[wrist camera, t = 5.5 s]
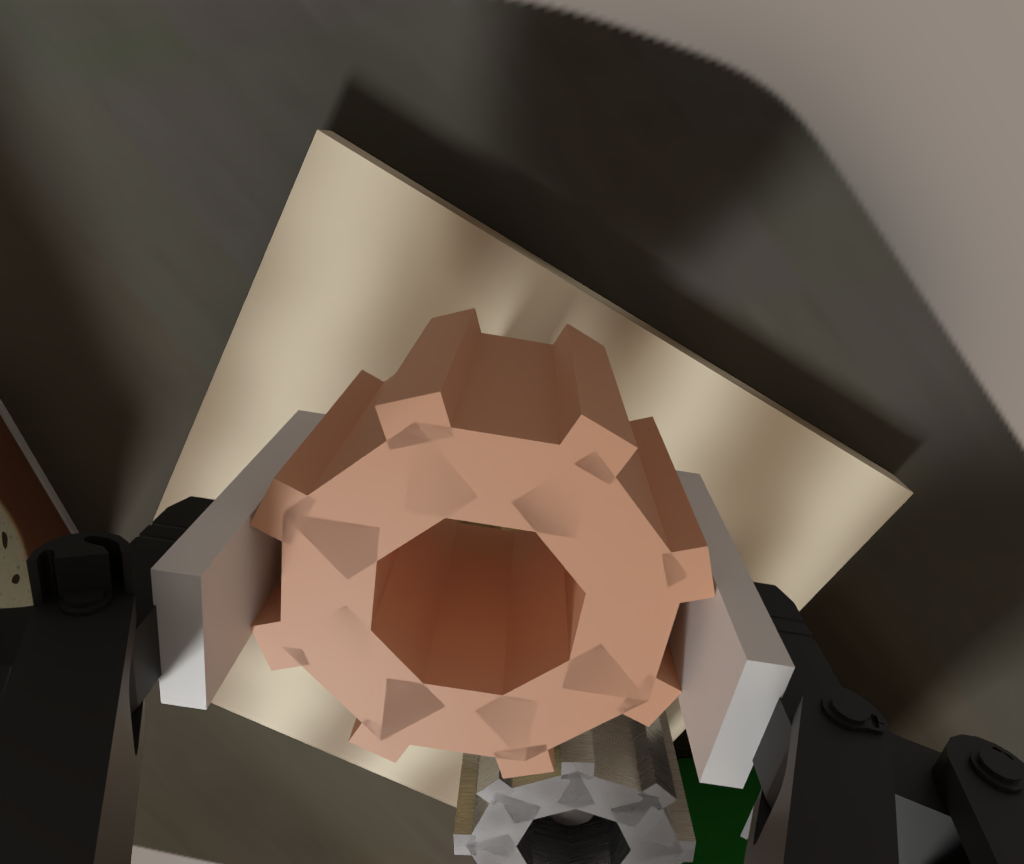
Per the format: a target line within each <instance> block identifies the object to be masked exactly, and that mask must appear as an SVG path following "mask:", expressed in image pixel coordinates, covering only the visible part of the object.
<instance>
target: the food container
mask: <svg viewBox="0 0 1024 864" xmlns="http://www.w3.org/2000/svg"><path fill="white" fill-rule="evenodd" d="M75 533H79V532H78V530H77V528H76V526H75V525H74V523H73V521H72V520H71V518H70V516H69V515H68V513H67V511H66V509H65V508H64V506H63V504H62V503H61V501H60V499H59V498H58V496H57V494H56V492H55V491H54V489H53V487H52V486H51V484H50V482H49V481H48V479H47V477H46V475H45V474H44V472H43V470H42V469H41V467H40V465H39V464H38V462H37V460H36V458H35V457H34V455H33V453H32V452H31V450H30V448H29V447H28V445H27V443H26V441H25V440H24V438H23V436H22V435H21V433H20V431H19V430H18V428H17V426H16V424H15V423H14V421H13V419H12V418H11V416H10V414H9V413H8V411H7V409H6V407H5V406H4V404H3V402H2V401H1V399H0V608H14V607H26V606H33V599H32V593H31V587H30V581H29V575H28V569H27V563H26V560H27V559H28V557H29V556H30V555H31V553H32V552H33V551H34V550H35V549H37V548H38V547H40V546H42V545H43V544H45V543H46V542H48V541H51V540H53V539H56V538H59V537H62V536H65V535H68V534H75Z"/></svg>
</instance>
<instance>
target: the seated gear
mask: <svg viewBox="0 0 1024 864" xmlns="http://www.w3.org/2000/svg"><path fill="white" fill-rule="evenodd" d="M573 809H578V810H581V811H584V812H587V813H590V814H593V817H592V818H591V819H590V820H589V821H587V822H585V823H583V824H580V825H572V826H570V825H563V824H560V823H558V822H556V821H554V820H553V819H552V818H551V817H550V815H553V814H557V813H561V812H565V811H569V810H573ZM453 835H454V853H455V855H472V856H473V858H474V859H475V861H476V862H477V864H673V863H674V862H693V857H694V851H695V845H696V839H695V835H694V831H693V827H692V822H691V818H690V814H689V809H688V805H687V801H686V796H685V792H684V788H683V783H682V779H681V775H680V771H679V766H678V762H677V758H676V753H675V749H674V745H673V740H672V736H671V732H670V727H669V723H668V719H667V715H666V710H664V712H663V713H662V714H661V715H660V716H659V717H658V718H657V719H656V720H655V721H654V722H653V723H652V724H651V725H650V726H649V727H648V726H646V725H644V724H642V723H640V722H638V721H636V720H634V719H632V718H630V717H628V716H626V715H624V714H621V715H619V716H617V717H615V718H613V719H611V720H609V721H606V722H604V723H602V724H600V725H598V726H596V727H594V728H592V729H590V730H588V731H586V732H584V733H582V734H580V735H578V736H576V737H574V738H572V739H569V740H567V741H565V742H563V743H561V744H559V745H557V746H555V747H554V772H549V773H541V774H534V775H527V776H519V777H512V778H505V779H503V778H502V775H501V772H500V769H499V766H498V763H497V760H496V757H489V756H482V755H476V754H469V753H463V759H462V767H461V775H460V784H459V792H458V800H457V809H456V817H455V826H454V834H453Z"/></svg>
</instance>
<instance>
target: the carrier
mask: <svg viewBox="0 0 1024 864" xmlns="http://www.w3.org/2000/svg"><path fill="white" fill-rule="evenodd" d="M472 308H475V310H476V314H477V318H478V322H479V325H480V329H481V333H486V334H492V335H498V336H504V337H510V338H517V339H523V340H529V341H535V342H541V343H547V344H554V342H555V341H556V339H557V338H558V336H559V335H560V333H561V332H562V330H563V329H564V327H565V325H566V324H567V323H568V324H569V325H571V326H573V327H574V328H576V329H577V330H579V331H581V332H582V333H584V334H585V335H587V336H589V337H590V338H592V339H593V340H595V341H597V342H598V343H600V344H601V345H603V346H604V347H605V350H606V353H607V356H608V359H609V362H610V365H611V368H612V371H613V374H614V377H615V380H616V383H617V386H618V389H619V392H620V395H621V398H622V401H623V404H624V407H625V410H626V413H627V416H628V419H629V421H632V420H637V419H642V418H647V417H652V416H653V418H654V420H655V423H656V425H657V428H658V430H659V432H660V435H661V437H662V439H663V442H664V444H665V446H666V449H667V451H668V453H669V456H670V458H671V460H672V463H673V465H674V468H675V470H678V471H684V472H690V473H697V474H700V476H701V478H702V480H703V482H704V484H705V486H706V488H707V490H708V492H709V494H710V496H711V498H712V500H713V502H714V504H715V506H716V508H717V510H718V512H719V514H720V516H721V518H722V520H723V522H724V524H725V526H726V528H727V530H728V532H729V534H730V536H731V538H732V540H733V542H734V544H735V547H736V549H737V551H738V553H739V555H740V557H741V559H742V561H743V563H744V565H745V567H746V569H747V571H748V573H749V575H750V577H751V579H752V581H753V582H758V583H764V584H771V585H776V586H777V587H778V588H779V589H780V590H781V591H782V592H783V593H784V594H785V595H787V596H788V597H789V598H790V599H791V600H792V601H793V602H794V603H795V605H796V607H797V609H798V610H799V611H800V610H801V609H802V608H803V607H804V606H805V605H806V604H807V603H808V602H809V601H810V600H811V599H812V598H813V597H814V596H815V595H816V594H817V593H818V591H819V590H820V589H821V588H822V587H823V586H824V585H825V584H826V583H827V582H828V581H829V580H830V579H831V578H832V577H833V576H834V575H835V574H836V573H837V572H838V571H839V570H840V569H841V568H842V567H843V566H844V565H845V564H846V563H847V562H848V560H849V559H850V558H851V557H852V556H853V555H854V554H855V553H856V552H857V551H858V550H859V549H860V548H861V547H862V546H863V545H864V544H865V543H866V542H867V541H868V540H869V539H870V538H871V537H872V536H873V535H874V534H875V533H876V532H877V531H878V530H879V528H880V527H881V526H882V525H883V524H884V523H885V522H886V521H887V520H888V519H889V518H890V517H891V516H892V515H893V514H894V513H895V512H896V511H897V510H898V509H899V508H900V507H901V506H902V505H903V504H904V503H905V502H906V501H907V500H908V499H909V497H910V496H911V495H912V494H913V492H912V491H911V490H910V489H909V488H907V487H906V486H905V485H904V484H903V483H902V482H901V481H900V480H899V479H897V478H896V477H895V476H894V475H893V474H891V473H890V472H888V471H887V470H885V469H883V468H882V467H880V466H878V465H877V464H875V463H873V462H872V461H870V460H869V459H867V458H865V457H864V456H862V455H860V454H859V453H857V452H855V451H854V450H852V449H851V448H849V447H847V446H846V445H844V444H842V443H841V442H839V441H838V440H836V439H834V438H833V437H831V436H829V435H828V434H826V433H824V432H823V431H821V430H820V429H818V428H816V427H815V426H813V425H811V424H810V423H808V422H806V421H805V420H803V419H802V418H800V417H798V416H797V415H795V414H793V413H792V412H790V411H789V410H787V409H785V408H784V407H782V406H780V405H779V404H777V403H775V402H774V401H772V400H771V399H769V398H767V397H766V396H764V395H762V394H761V393H759V392H757V391H756V390H754V389H753V388H751V387H749V386H748V385H746V384H744V383H743V382H741V381H739V380H738V379H736V378H735V377H733V376H731V375H730V374H728V373H726V372H725V371H723V370H722V369H720V368H718V367H717V366H715V365H713V364H712V363H710V362H708V361H707V360H705V359H704V358H702V357H700V356H699V355H697V354H695V353H694V352H692V351H690V350H689V349H687V348H686V347H684V346H682V345H681V344H679V343H677V342H676V341H674V340H672V339H671V338H669V337H668V336H666V335H664V334H663V333H661V332H659V331H658V330H656V329H655V328H653V327H651V326H650V325H648V324H646V323H645V322H643V321H641V320H640V319H638V318H637V317H635V316H633V315H632V314H630V313H628V312H627V311H625V310H623V309H622V308H620V307H619V306H617V305H615V304H614V303H612V302H610V301H609V300H607V299H605V298H604V297H602V296H601V295H599V294H597V293H596V292H594V291H592V290H591V289H589V288H588V287H586V286H584V285H583V284H581V283H579V282H578V281H576V280H574V279H573V278H571V277H570V276H568V275H566V274H565V273H563V272H561V271H560V270H558V269H556V268H555V267H553V266H552V265H550V264H548V263H547V262H545V261H543V260H542V259H540V258H539V257H537V256H535V255H534V254H532V253H530V252H529V251H527V250H525V249H524V248H522V247H521V246H519V245H517V244H516V243H514V242H512V241H511V240H509V239H507V238H506V237H504V236H503V235H501V234H499V233H498V232H496V231H494V230H493V229H491V228H489V227H488V226H486V225H485V224H483V223H481V222H480V221H478V220H476V219H475V218H473V217H472V216H470V215H468V214H467V213H465V212H463V211H462V210H460V209H458V208H457V207H455V206H454V205H452V204H450V203H449V202H447V201H445V200H444V199H442V198H440V197H439V196H437V195H436V194H434V193H432V192H431V191H429V190H427V189H426V188H424V187H422V186H421V185H419V184H418V183H416V182H414V181H413V180H411V179H409V178H408V177H406V176H405V175H403V174H401V173H400V172H398V171H396V170H395V169H393V168H391V167H390V166H388V165H387V164H385V163H383V162H382V161H380V160H378V159H377V158H375V157H373V156H372V155H370V154H369V153H367V152H365V151H364V150H362V149H360V148H359V147H357V146H355V145H354V144H352V143H351V142H349V141H347V140H346V139H344V138H342V137H341V136H339V135H338V134H336V133H334V132H333V131H328V130H317V131H316V134H315V136H314V139H313V141H312V143H311V146H310V148H309V150H308V153H307V155H306V158H305V160H304V162H303V165H302V167H301V169H300V172H299V174H298V177H297V179H296V181H295V184H294V186H293V189H292V191H291V193H290V196H289V198H288V200H287V203H286V205H285V208H284V210H283V212H282V215H281V217H280V219H279V222H278V224H277V227H276V229H275V231H274V234H273V236H272V239H271V241H270V243H269V246H268V248H267V250H266V253H265V255H264V258H263V260H262V262H261V265H260V267H259V269H258V272H257V274H256V277H255V279H254V281H253V284H252V286H251V289H250V291H249V293H248V296H247V298H246V300H245V303H244V305H243V308H242V310H241V312H240V315H239V317H238V319H237V322H236V324H235V327H234V329H233V331H232V334H231V336H230V338H229V341H228V343H227V346H226V348H225V350H224V353H223V355H222V358H221V360H220V362H219V365H218V367H217V369H216V372H215V374H214V377H213V379H212V381H211V384H210V386H209V388H208V391H207V393H206V396H205V398H204V400H203V403H202V405H201V408H200V410H199V412H198V415H197V417H196V419H195V422H194V424H193V427H192V429H191V431H190V434H189V436H188V438H187V441H186V443H185V446H184V448H183V450H182V453H181V455H180V457H179V460H178V462H177V465H176V467H175V469H174V472H173V474H172V477H171V479H170V481H169V484H168V486H167V488H166V491H165V493H164V496H163V498H162V500H161V503H160V505H159V507H158V510H157V512H156V515H155V517H154V519H153V521H154V520H155V519H156V518H157V517H158V516H159V515H160V514H161V513H162V512H163V511H164V510H165V509H166V508H167V507H169V506H171V505H173V504H175V503H177V502H180V501H182V500H184V499H186V498H188V497H190V496H194V497H201V498H207V499H214V500H215V499H216V498H217V497H218V496H219V495H220V494H221V493H222V492H223V491H224V490H225V488H226V487H227V486H228V485H229V484H230V483H231V482H232V481H233V480H234V479H235V478H236V477H237V476H238V474H239V473H240V472H241V471H242V470H243V469H244V468H245V467H246V466H247V465H248V464H249V463H250V462H251V460H252V459H253V458H254V457H255V456H256V455H257V454H258V453H259V452H260V451H261V450H262V449H263V448H264V447H265V445H266V444H267V443H268V442H269V441H270V440H271V439H272V438H273V437H274V436H275V435H276V434H277V433H278V431H279V430H280V429H281V428H282V427H283V426H284V425H285V424H286V423H287V422H288V421H289V420H290V419H291V418H292V416H293V415H294V414H295V413H296V412H297V411H298V410H302V411H309V412H315V413H321V414H326V413H327V412H328V411H329V409H330V408H331V407H332V406H333V405H334V403H335V402H336V401H337V400H338V398H339V397H340V396H341V395H342V394H343V392H344V391H345V390H346V389H347V387H348V386H349V385H350V384H351V382H352V381H353V380H354V379H355V378H356V376H357V375H358V374H359V373H360V371H361V370H364V371H366V372H368V373H369V374H371V375H373V376H375V377H376V378H378V379H380V380H382V381H383V382H385V381H386V380H388V379H389V378H390V377H392V376H393V375H394V374H396V372H397V371H398V369H399V367H400V366H401V364H402V363H403V361H404V360H405V358H406V357H407V355H408V354H409V352H410V351H411V349H412V347H413V346H414V344H415V343H416V341H417V340H418V338H419V337H420V335H421V334H422V332H423V330H424V329H425V327H426V326H427V324H428V323H429V321H430V320H431V318H434V317H438V316H442V315H447V314H451V313H455V312H459V311H464V310H468V309H472ZM455 520H456V519H455ZM456 521H457V522H458V523H462V524H469V525H475V526H481V527H488V528H494V529H501V530H507V531H516V530H517V529H513V528H507V527H501V526H494V525H488V524H481V523H475V522H468V521H462V520H456ZM151 525H152V524H151ZM158 680H159V679H158ZM211 703H213V704H215V705H218V706H220V707H222V708H225V709H227V710H229V711H232V712H234V713H236V714H239V715H241V716H243V717H246V718H248V719H250V720H253V721H255V722H257V723H260V724H262V725H264V726H267V727H269V728H271V729H274V730H276V731H278V732H281V733H283V734H285V735H288V736H290V737H292V738H295V739H297V740H300V741H302V742H304V743H307V744H309V745H311V746H314V747H316V748H318V749H321V750H323V751H325V752H328V753H330V754H332V755H335V756H337V757H339V758H342V759H344V760H346V761H349V762H351V763H353V764H356V765H358V766H360V767H363V768H365V769H367V770H370V771H372V772H374V773H377V774H379V775H381V776H384V777H386V778H388V779H391V780H393V781H395V782H398V783H400V784H402V785H405V786H407V787H409V788H412V789H414V790H416V791H419V792H421V793H423V794H426V795H428V796H430V797H433V798H435V799H437V800H440V801H442V802H444V803H447V804H449V805H452V806H454V807H456V808H457V800H458V792H459V784H460V775H461V767H462V759H463V753H462V752H455V751H448V750H442V749H435V748H428V747H421V746H414V745H409V746H408V748H407V749H406V750H405V752H404V753H403V754H402V755H401V757H400V758H399V759H398V761H397V762H396V763H394V762H392V761H390V760H388V759H386V758H383V757H381V756H379V755H377V754H375V753H372V752H370V751H368V750H366V749H364V748H361V747H359V746H357V745H355V744H353V743H350V742H349V738H350V735H351V732H352V729H353V726H354V723H355V720H356V717H355V716H354V715H353V714H352V713H351V712H350V711H349V710H348V709H347V708H346V707H345V706H344V705H343V704H341V703H340V702H339V701H338V700H337V699H336V698H335V697H334V696H333V695H332V694H331V693H330V692H329V691H328V690H327V689H326V688H324V687H323V686H322V685H321V684H320V683H319V682H318V681H317V680H316V679H315V678H314V677H313V676H312V675H311V674H310V673H309V672H307V671H306V670H305V669H304V668H303V667H302V666H297V667H291V668H285V669H279V670H273V671H271V669H270V667H269V665H268V663H267V661H266V659H265V657H264V655H263V653H262V651H261V649H260V646H259V644H258V642H257V640H256V638H255V636H254V634H253V633H252V634H251V636H250V638H249V639H248V641H247V643H246V644H245V646H244V648H243V649H242V651H241V653H240V654H239V656H238V658H237V659H236V661H235V663H234V664H233V666H232V668H231V669H230V671H229V673H228V674H227V676H226V678H225V680H224V681H223V683H222V685H221V686H220V688H219V690H218V691H217V693H216V695H215V696H214V698H213V700H212V701H211ZM665 710H666V715H667V719H668V723H669V727H670V732H671V736H672V740H673V741H674V740H675V739H676V738H677V737H678V736H679V735H680V734H681V733H682V732H683V731H684V730H685V729H686V727H685V723H684V719H683V715H682V711H681V707H680V703H679V699H678V697H677V698H676V699H675V700H674V701H673V702H672V703H671V704H670V705H669V706H668V707H667V708H666V709H665ZM550 817H551V818H552V819H553V820H554V821H556V822H558V823H560V824H563V825H570V826H572V825H580V824H583V823H585V822H587V821H589V820H590V819H591V818H592V817H593V814H590V813H587V812H584V811H581V810H578V809H573V810H569V811H565V812H561V813H557V814H553V815H550Z"/></svg>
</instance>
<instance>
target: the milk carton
mask: <svg viewBox="0 0 1024 864" xmlns="http://www.w3.org/2000/svg"><path fill="white" fill-rule="evenodd" d="M677 762H678V766H679V771H680V775H681V779H682V783H683V788H684V792H685V796H686V801H687V805H688V809H689V814H690V818H691V822H692V827H693V831H694V835H695V839H696V845H695V851H694V857H693V862H674V863H673V864H744V858H745V853H746V847H747V842H748V839H747V840H746V839H745V838H743V837H741V833H742V831H743V829H744V827H745V824H746V822H747V820H748V818H749V815H750V813H751V811H752V809H753V807H754V804H755V802H756V800H757V798H758V795H759V793H760V791H761V789H762V787H761V784H760V781H759V778H758V775H757V773H756V770H755V767H754V764H753V766H752V769H751V771H750V773H749V776H748V778H747V780H746V783H745V785H744V787H743V789H741V788H734V787H727V786H720V785H714V784H707V783H700V782H699V779H698V775H697V771H696V767H695V763H694V759H693V758H679V759H677Z"/></svg>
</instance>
